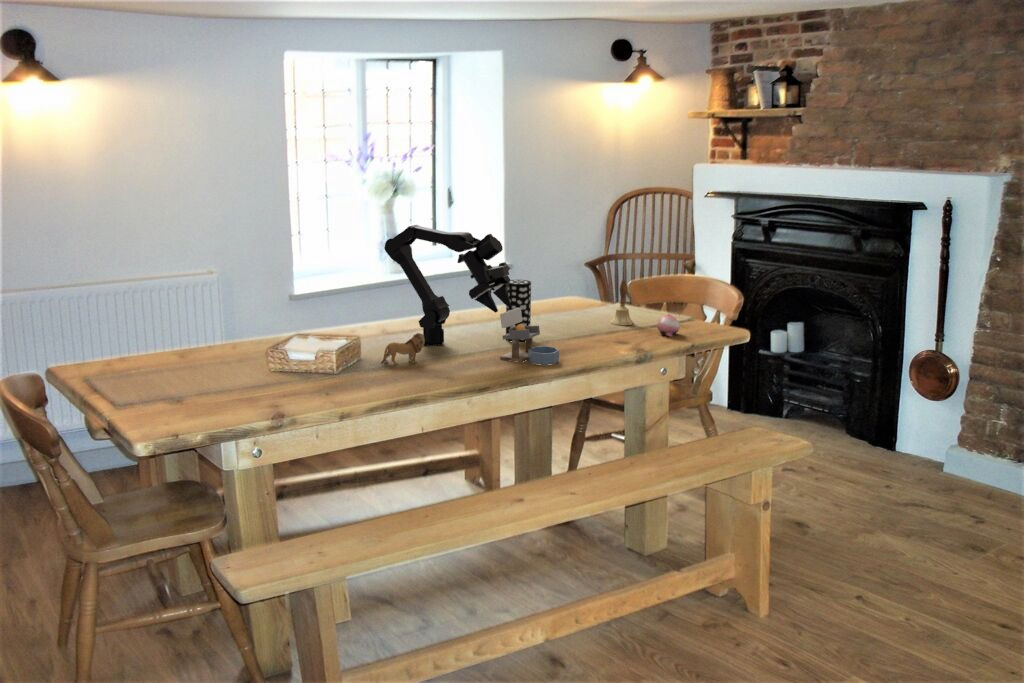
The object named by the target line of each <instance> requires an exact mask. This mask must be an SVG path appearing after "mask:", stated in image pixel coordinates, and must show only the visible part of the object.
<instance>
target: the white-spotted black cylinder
mask: <svg viewBox="0 0 1024 683" xmlns="http://www.w3.org/2000/svg"><path fill="white" fill-rule="evenodd" d="M509 282H510V284H509V285H508V288H507V290H508V295H509V299H510V303H511V306H510V307H508V306H506V305H505V312H507V311H510V310H513V309H515V308H521V314H522V322H519V323H517V324H515V327H516V326H517V325H519V324H522V325H524V326H531V312H532V311H531V308H532V303H531V301H532V299H531V298H532V281H530V280H526V279H510V281H509ZM509 329H510V326H509V327H506V328H505V334H508V333H509ZM507 340H508V341H507ZM518 340H519V342H523V343H525V341H526V339H518ZM505 341H507V342H509V341H512V339H505Z"/></svg>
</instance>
